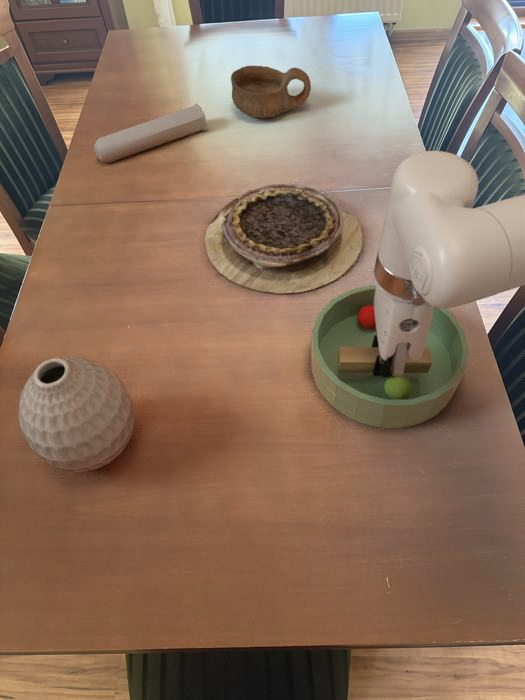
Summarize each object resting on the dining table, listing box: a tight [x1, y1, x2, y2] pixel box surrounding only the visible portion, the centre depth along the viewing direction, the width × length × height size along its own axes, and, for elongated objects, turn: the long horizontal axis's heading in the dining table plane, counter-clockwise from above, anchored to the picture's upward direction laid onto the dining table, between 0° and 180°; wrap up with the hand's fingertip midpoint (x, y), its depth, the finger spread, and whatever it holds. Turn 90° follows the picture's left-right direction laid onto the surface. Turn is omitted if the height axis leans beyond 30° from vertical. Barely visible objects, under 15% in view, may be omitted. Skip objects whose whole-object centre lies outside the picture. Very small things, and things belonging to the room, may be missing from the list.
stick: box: [338, 347, 432, 373], centre depth 69 cm, size 2×12×2 cm, turn 88°
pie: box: [204, 183, 363, 294], centre depth 90 cm, size 28×27×5 cm
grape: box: [384, 375, 412, 400], centre depth 68 cm, size 4×4×4 cm
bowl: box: [230, 65, 312, 119], centre depth 116 cm, size 18×14×10 cm
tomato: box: [358, 305, 376, 329], centre depth 76 cm, size 4×4×4 cm
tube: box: [93, 103, 207, 164], centre depth 111 cm, size 5×5×25 cm
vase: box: [18, 356, 135, 473], centre depth 61 cm, size 13×13×17 cm
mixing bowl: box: [310, 284, 470, 429], centre depth 71 cm, size 21×21×6 cm
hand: (383, 363), depth 69 cm, fingers closed on stick, 2 cm apart
